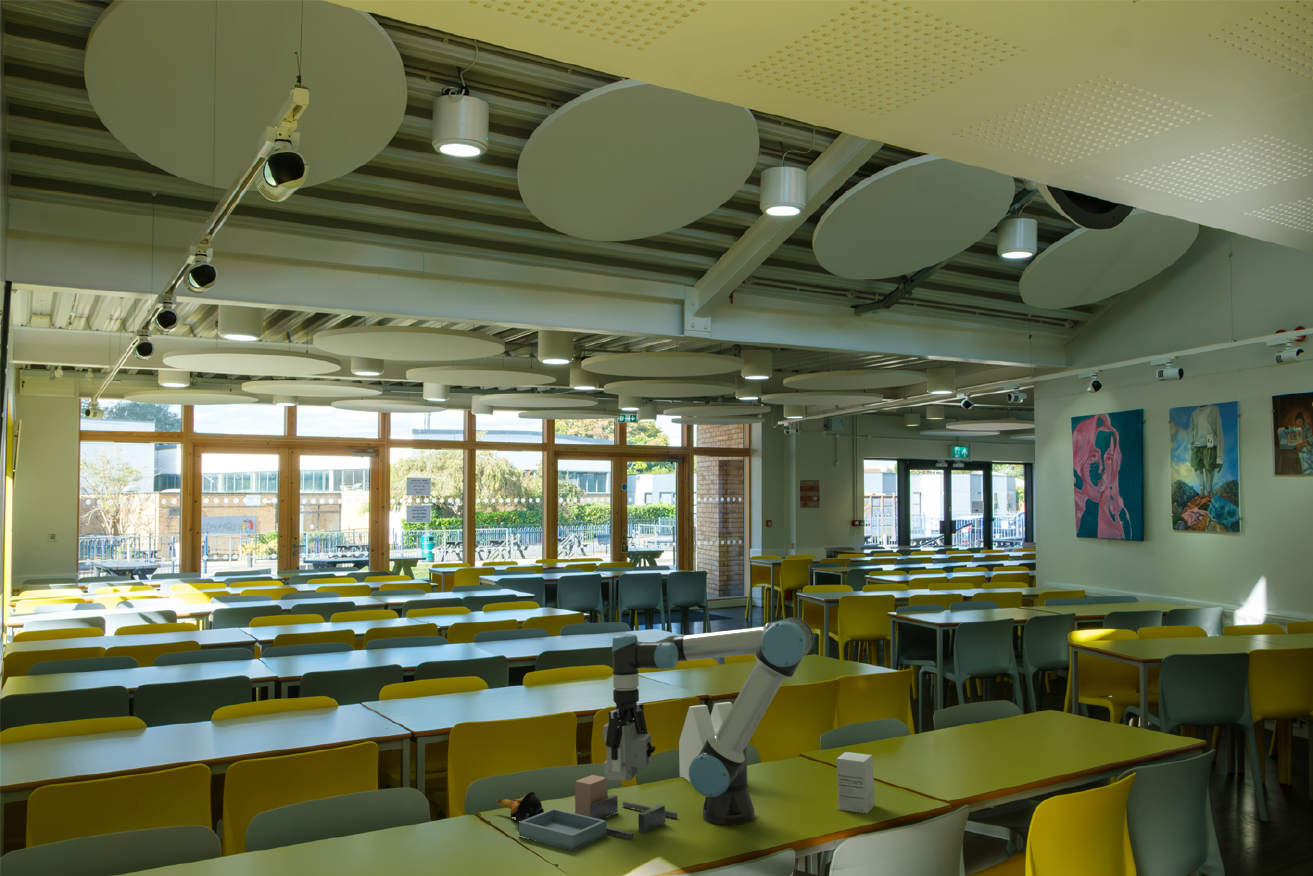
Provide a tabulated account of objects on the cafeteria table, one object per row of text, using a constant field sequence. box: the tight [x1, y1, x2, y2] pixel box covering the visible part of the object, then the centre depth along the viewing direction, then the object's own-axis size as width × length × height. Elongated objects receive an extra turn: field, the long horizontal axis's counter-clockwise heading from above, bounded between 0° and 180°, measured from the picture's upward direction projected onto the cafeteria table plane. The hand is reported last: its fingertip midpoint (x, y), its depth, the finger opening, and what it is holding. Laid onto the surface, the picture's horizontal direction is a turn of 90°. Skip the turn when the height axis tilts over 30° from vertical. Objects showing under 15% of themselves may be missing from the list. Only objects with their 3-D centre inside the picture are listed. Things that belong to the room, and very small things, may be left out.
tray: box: [518, 808, 608, 852], centre depth 235 cm, size 20×14×4 cm
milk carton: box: [678, 701, 733, 782], centre depth 287 cm, size 19×15×25 cm
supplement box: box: [836, 751, 876, 815], centre depth 256 cm, size 9×9×15 cm
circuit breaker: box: [602, 721, 656, 781], centre depth 248 cm, size 8×14×15 cm, turn 78°
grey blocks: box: [591, 794, 678, 841], centre depth 246 cm, size 20×22×5 cm
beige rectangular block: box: [574, 774, 609, 817], centre depth 254 cm, size 6×8×10 cm
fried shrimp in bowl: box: [495, 791, 545, 823], centre depth 250 cm, size 9×11×18 cm
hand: (627, 767), depth 247 cm, fingers closed on circuit breaker, 10 cm apart
